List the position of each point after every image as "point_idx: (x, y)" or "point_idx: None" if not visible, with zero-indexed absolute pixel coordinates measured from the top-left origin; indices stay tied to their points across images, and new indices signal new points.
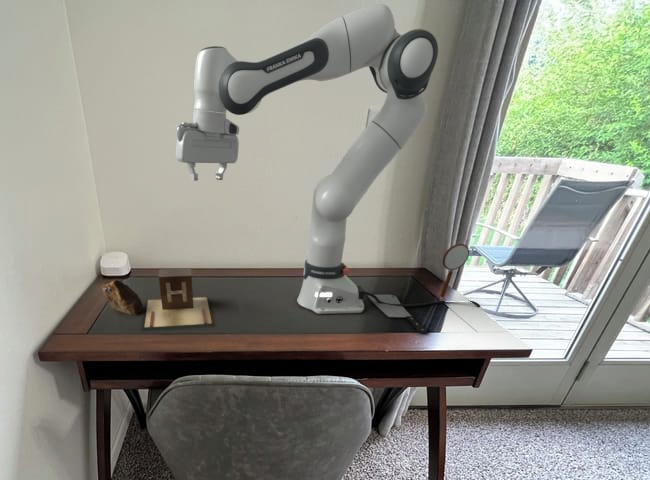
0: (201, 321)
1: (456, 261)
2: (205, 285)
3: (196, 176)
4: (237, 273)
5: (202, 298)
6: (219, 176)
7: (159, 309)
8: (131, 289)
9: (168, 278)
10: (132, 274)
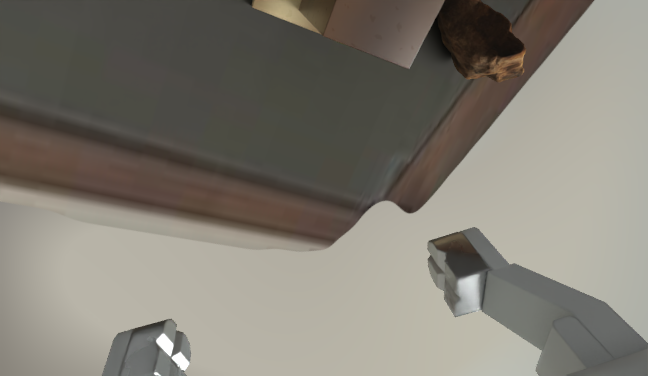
0: None
1: None
2: (220, 108)
3: (463, 257)
4: (88, 162)
5: (267, 3)
6: (158, 346)
7: None
8: (468, 44)
9: None
10: (354, 220)
